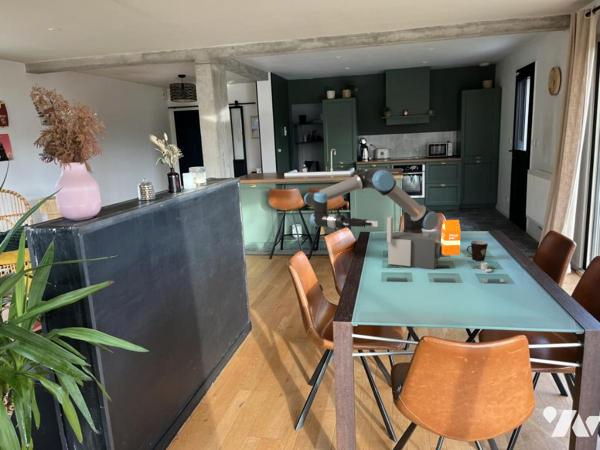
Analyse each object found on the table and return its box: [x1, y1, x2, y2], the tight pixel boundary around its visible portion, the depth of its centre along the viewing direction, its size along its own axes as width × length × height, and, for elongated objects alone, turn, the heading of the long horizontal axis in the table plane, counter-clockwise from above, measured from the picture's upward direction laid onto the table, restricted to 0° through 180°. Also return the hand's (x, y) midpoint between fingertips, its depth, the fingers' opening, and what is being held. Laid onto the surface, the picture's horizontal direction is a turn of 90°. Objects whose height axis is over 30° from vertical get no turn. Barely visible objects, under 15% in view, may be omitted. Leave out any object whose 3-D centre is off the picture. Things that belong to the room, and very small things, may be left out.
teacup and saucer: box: [475, 261, 494, 273], centre depth 234 cm, size 9×8×4 cm
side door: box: [386, 216, 411, 267], centre depth 240 cm, size 4×12×26 cm, turn 64°
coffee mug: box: [466, 240, 489, 262], centre depth 251 cm, size 12×9×10 cm
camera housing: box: [388, 231, 443, 271], centre depth 246 cm, size 12×26×17 cm, turn 64°
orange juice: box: [440, 219, 462, 256], centre depth 265 cm, size 8×9×20 cm
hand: (377, 224), depth 243 cm, fingers closed
